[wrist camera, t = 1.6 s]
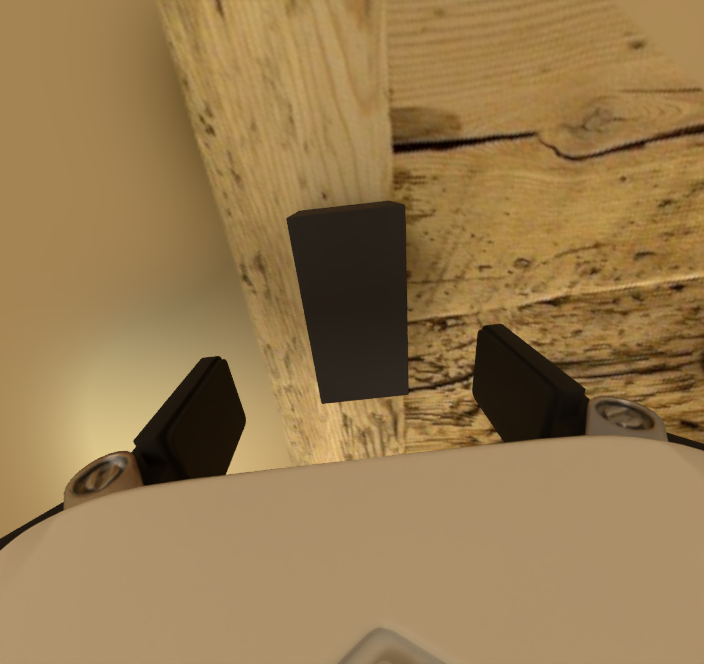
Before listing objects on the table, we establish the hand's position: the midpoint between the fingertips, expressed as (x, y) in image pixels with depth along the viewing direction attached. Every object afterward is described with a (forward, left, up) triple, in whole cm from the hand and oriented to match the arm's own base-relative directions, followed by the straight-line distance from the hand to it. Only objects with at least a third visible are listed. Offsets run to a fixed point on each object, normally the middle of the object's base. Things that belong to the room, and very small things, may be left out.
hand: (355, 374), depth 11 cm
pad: (-1, 0, -8) cm, 8 cm away
